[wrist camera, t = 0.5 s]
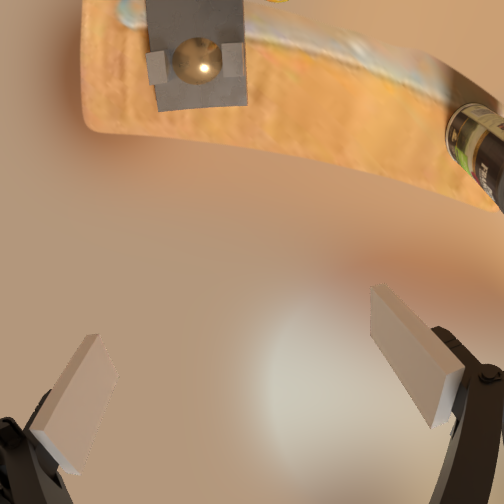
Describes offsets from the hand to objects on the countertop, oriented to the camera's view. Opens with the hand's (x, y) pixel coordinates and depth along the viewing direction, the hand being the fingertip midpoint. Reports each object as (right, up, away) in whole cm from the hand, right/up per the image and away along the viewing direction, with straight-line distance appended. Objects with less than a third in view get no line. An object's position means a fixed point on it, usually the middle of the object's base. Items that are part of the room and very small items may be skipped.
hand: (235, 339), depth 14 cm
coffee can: (+33, +21, +21) cm, 44 cm away
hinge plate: (-6, +29, +16) cm, 34 cm away
